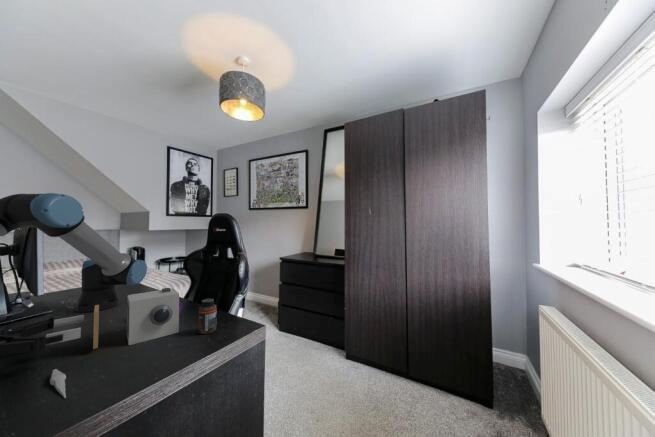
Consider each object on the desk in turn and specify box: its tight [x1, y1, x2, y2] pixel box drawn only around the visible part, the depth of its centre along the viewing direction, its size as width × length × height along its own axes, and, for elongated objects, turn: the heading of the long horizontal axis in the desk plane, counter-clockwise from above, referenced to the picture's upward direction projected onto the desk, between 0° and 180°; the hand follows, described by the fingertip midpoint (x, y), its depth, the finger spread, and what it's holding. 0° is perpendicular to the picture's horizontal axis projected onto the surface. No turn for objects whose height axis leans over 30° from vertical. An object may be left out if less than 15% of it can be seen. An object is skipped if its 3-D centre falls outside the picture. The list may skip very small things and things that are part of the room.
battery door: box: [52, 305, 100, 350], centre depth 74 cm, size 8×10×11 cm
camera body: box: [126, 287, 180, 346], centre depth 86 cm, size 12×14×15 cm
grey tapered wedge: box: [49, 368, 67, 399], centre depth 59 cm, size 15×3×2 cm, turn 55°
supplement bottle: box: [197, 298, 218, 335], centre depth 89 cm, size 6×6×11 cm
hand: (82, 325), depth 75 cm, fingers open, 13 cm apart
